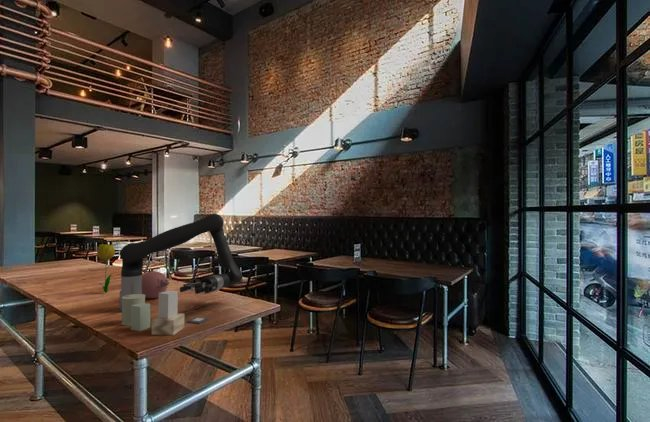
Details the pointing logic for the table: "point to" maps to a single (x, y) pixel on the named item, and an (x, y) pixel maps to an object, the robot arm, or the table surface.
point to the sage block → (140, 316)
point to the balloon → (153, 284)
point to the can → (126, 306)
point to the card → (198, 320)
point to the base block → (167, 325)
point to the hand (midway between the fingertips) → (188, 290)
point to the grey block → (168, 304)
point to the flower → (106, 254)
